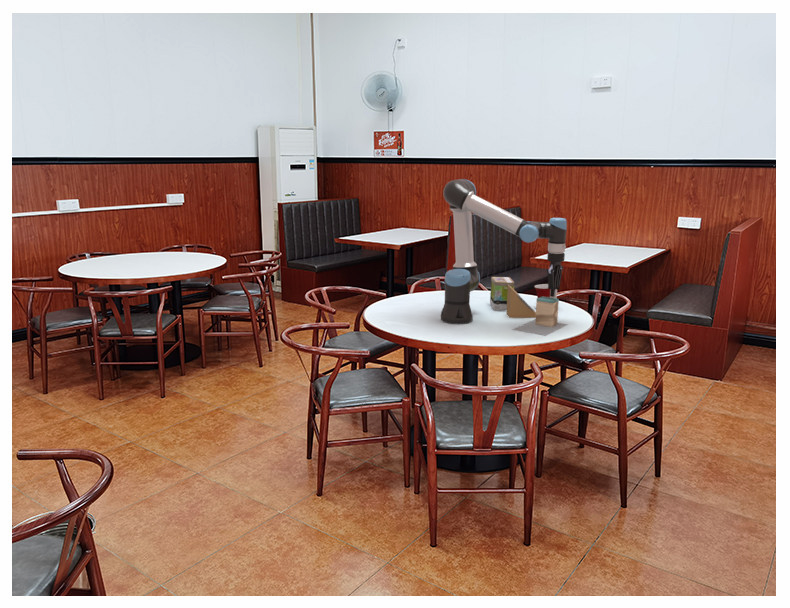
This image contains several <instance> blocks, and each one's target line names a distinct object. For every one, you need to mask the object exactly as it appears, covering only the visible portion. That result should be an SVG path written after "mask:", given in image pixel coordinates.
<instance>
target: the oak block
mask: <svg viewBox="0 0 790 608" xmlns="http://www.w3.org/2000/svg"><path fill="white" fill-rule="evenodd" d="M559 300H560V298H550V297H543V296H542V297H540V298H536V303H535V304H536V306H535V312H536V318H534V320H535V324H537V325H543V326H548V327H553V326H555V325H557V323H558V320H559V319H558V318H559V315H558V314H559V304H560V303H559Z"/></svg>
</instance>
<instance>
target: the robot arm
mask: <svg viewBox="0 0 790 608" xmlns="http://www.w3.org/2000/svg"><path fill="white" fill-rule="evenodd" d="M442 193H443V198H444V200H445V202H446V203H448V204H449V210H450V211H451V212H452V213H453V214H452V215H453V231H454V232H453V233H454V249H455V251H454V252H455V253H454V255H455V263H454V264H453V265H452V269H449V270H448V271H446V272H445V274H444V275H445V276H444V304H443V308H442V310H441V313H440V321H441V322H443V323H447V324H452V325H453V324H454V325H455V324H457V325H460V324H462V325H463V324H469V323H471V322H473V319H474V318H473V317H474V316H473V312H472V309H471V305H470V298H471V297H470V295H471V292H473V291H474V290H476V289H477V287H478V286H479V284H480V281H481V275H480V272H479V271H478V264H477V263H476V262H475V261H474V244H473V243H474V241H473V240H474V238H473V221H472V220H473V218H472V214H473V215H476V216H478V217H479V218H482V219H484V220H485V221H488V222H490V223H491V224H492V225H493V224H494V225H495V226H496V227H499V228H502V229H503V230H505V231H507V232H509V233H511V234H513V235H515V236H516V237H519V238H520V239H521V240H522V242H524V243H532V242H535V241H536V240H537V239H542V240H543V239H545V240H547V239H548V242H547V243H548V244H547V251H548V252H547V256H546V257H547V261H548V262H550V263H549V268H547V270H546V272H547V284H548V289H550V298H557V297H558V290H560V286H561V279H562V274H563V269H564V266H563V265H562V263H563V262H564V261H565V256H566V255H565V252H566V248H567V246H566V242H567V241H566V240H567V225H568V223H567V221H568V220H567V219H566V218H564V217H563V218H562V217H552V218H550V219H549V221H546V222H545V221H532V220H531V221H528V220H527V221H526V220H525V219H523V218H521V217H519V216H518V215H515V214H513V213H511V212H509V211H507V210H505V209H503V208H501V207H499V206H497V205H495V204H493V203H492V202H490V201H488V200H485V199H484V198H482V197H480V196H478V195H477V189H476V185H475V184H474V183H473V182H472V181H470V180H468V179H464V178H460V179H454V180H450V181H448V182H447V183H446V184H445V186H444V188H443V192H442ZM557 299H558V298H557Z"/></svg>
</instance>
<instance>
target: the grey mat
mask: <svg viewBox="0 0 790 608" xmlns="http://www.w3.org/2000/svg"><path fill="white" fill-rule="evenodd" d="M568 325H569V324H567V323H561V322H557V325H555V326H553V327H548V326H543V325H537V324H535V319H532V320H530V321H528V322H526V323H524V324H521V325H519V326H517V327H514V328H512V329H511V330H512V331H518V332H522V333H527V334H534V335H538V336H542V337H546V336H548V335H550V334H552V333H555V332H556V331H558V330H560V329H562V328H564V327H566V326H568Z"/></svg>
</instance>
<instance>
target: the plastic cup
mask: <svg viewBox="0 0 790 608" xmlns="http://www.w3.org/2000/svg"><path fill="white" fill-rule="evenodd" d="M534 288H535V291H536V297H537V298H540V297H542V296H543V297H550V289H548V283H542V284H536V285H534ZM537 298H536V299H537Z"/></svg>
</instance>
